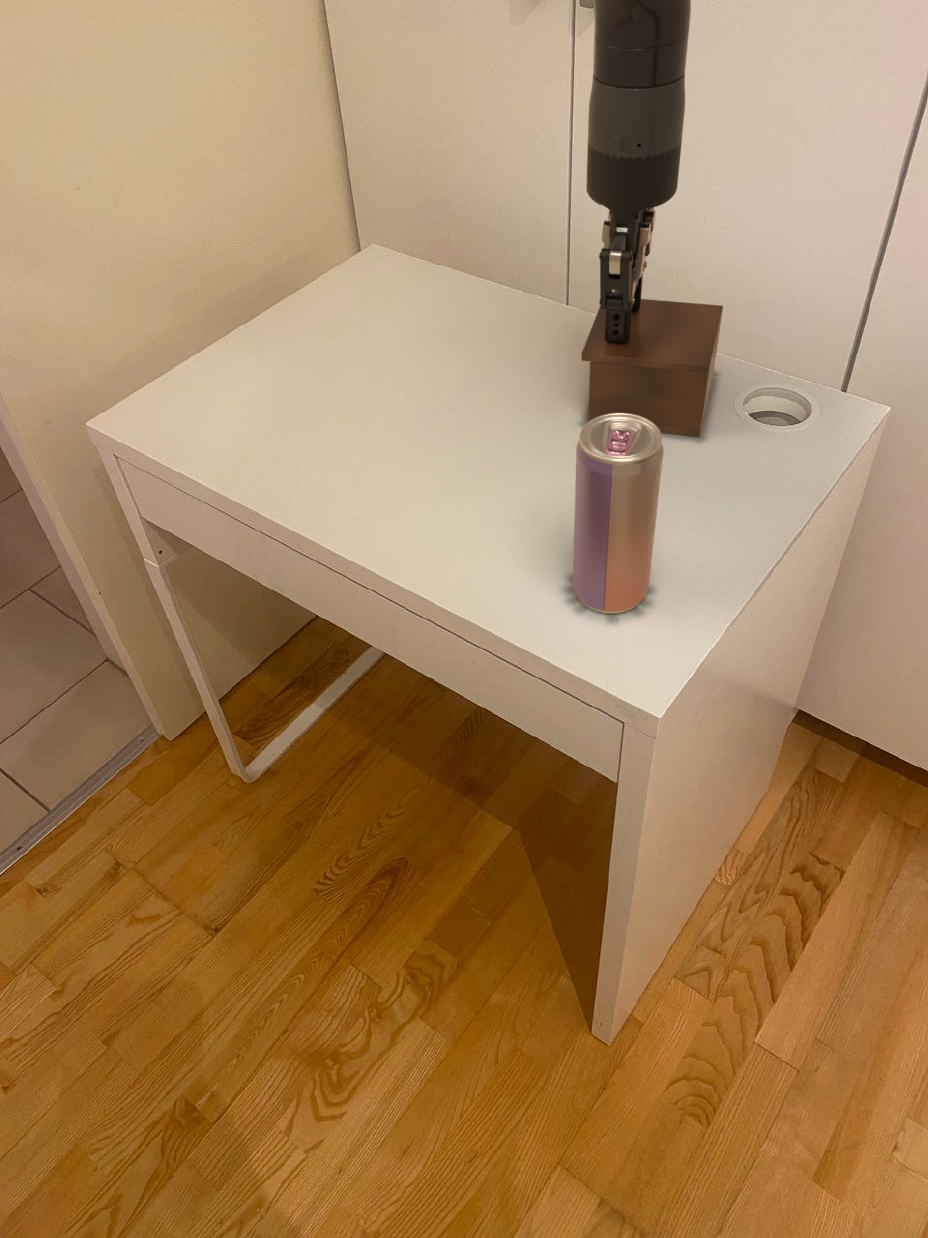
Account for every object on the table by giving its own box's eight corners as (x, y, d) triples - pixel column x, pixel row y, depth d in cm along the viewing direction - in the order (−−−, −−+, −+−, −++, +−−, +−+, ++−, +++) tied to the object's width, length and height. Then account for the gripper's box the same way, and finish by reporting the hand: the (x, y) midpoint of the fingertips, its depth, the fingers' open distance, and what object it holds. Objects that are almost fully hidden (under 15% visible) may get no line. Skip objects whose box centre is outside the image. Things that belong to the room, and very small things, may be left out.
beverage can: (565, 610, 75) (568, 456, 64) (580, 559, 79) (586, 406, 68) (640, 623, 74) (657, 468, 63) (653, 570, 77) (671, 415, 67)
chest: (587, 423, 92) (589, 361, 87) (608, 364, 99) (611, 303, 94) (699, 437, 89) (708, 374, 84) (713, 375, 96) (722, 313, 91)
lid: (581, 360, 87) (582, 308, 83) (603, 302, 94) (605, 251, 90) (708, 373, 84) (715, 319, 80) (722, 312, 91) (729, 260, 87)
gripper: (668, 173, 71) (650, 371, 84) (693, 103, 81) (674, 291, 93) (569, 168, 73) (566, 362, 86) (605, 100, 82) (598, 284, 95)
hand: (622, 324), depth 89 cm, fingers closed on lid, 5 cm apart
